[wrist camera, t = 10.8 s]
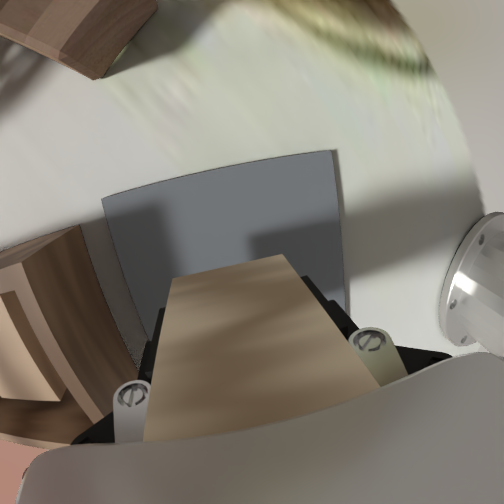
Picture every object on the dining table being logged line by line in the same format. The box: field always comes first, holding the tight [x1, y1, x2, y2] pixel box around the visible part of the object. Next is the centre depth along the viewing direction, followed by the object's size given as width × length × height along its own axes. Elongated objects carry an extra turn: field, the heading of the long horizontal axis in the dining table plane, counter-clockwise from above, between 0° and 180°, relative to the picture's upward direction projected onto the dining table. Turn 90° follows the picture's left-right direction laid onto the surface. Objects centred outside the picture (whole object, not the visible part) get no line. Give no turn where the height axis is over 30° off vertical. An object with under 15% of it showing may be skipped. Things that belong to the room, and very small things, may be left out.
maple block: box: [143, 254, 380, 442], centre depth 9 cm, size 4×4×8 cm
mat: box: [101, 151, 345, 341], centre depth 16 cm, size 12×12×1 cm
